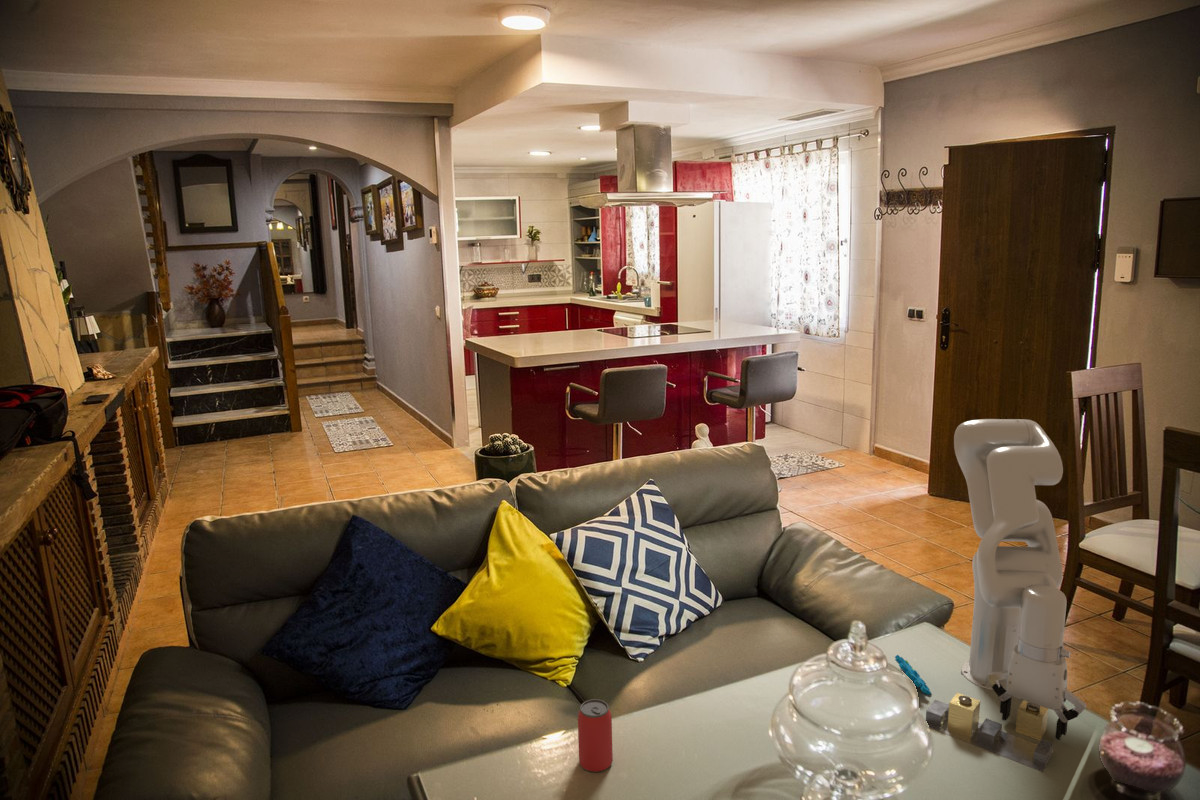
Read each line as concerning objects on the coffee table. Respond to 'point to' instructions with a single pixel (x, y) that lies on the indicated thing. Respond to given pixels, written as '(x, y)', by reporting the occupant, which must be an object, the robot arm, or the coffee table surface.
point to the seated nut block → (963, 715)
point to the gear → (912, 674)
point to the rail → (993, 739)
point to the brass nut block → (1031, 720)
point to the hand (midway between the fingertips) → (1032, 726)
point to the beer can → (595, 735)
